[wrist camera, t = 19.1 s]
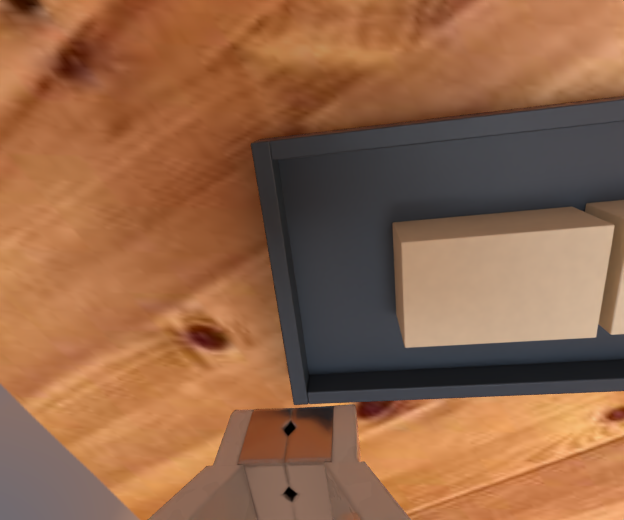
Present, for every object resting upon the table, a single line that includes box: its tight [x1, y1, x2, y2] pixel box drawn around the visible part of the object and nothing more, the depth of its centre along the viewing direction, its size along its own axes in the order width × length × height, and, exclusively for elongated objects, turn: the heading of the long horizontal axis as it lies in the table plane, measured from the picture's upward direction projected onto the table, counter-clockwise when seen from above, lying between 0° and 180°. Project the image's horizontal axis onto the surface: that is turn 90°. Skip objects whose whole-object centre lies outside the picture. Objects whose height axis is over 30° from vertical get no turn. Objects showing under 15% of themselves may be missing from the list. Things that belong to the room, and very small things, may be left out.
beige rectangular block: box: [392, 207, 615, 348], centre depth 18 cm, size 5×8×3 cm, turn 97°
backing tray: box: [251, 96, 624, 405], centre depth 18 cm, size 24×14×2 cm, turn 97°
